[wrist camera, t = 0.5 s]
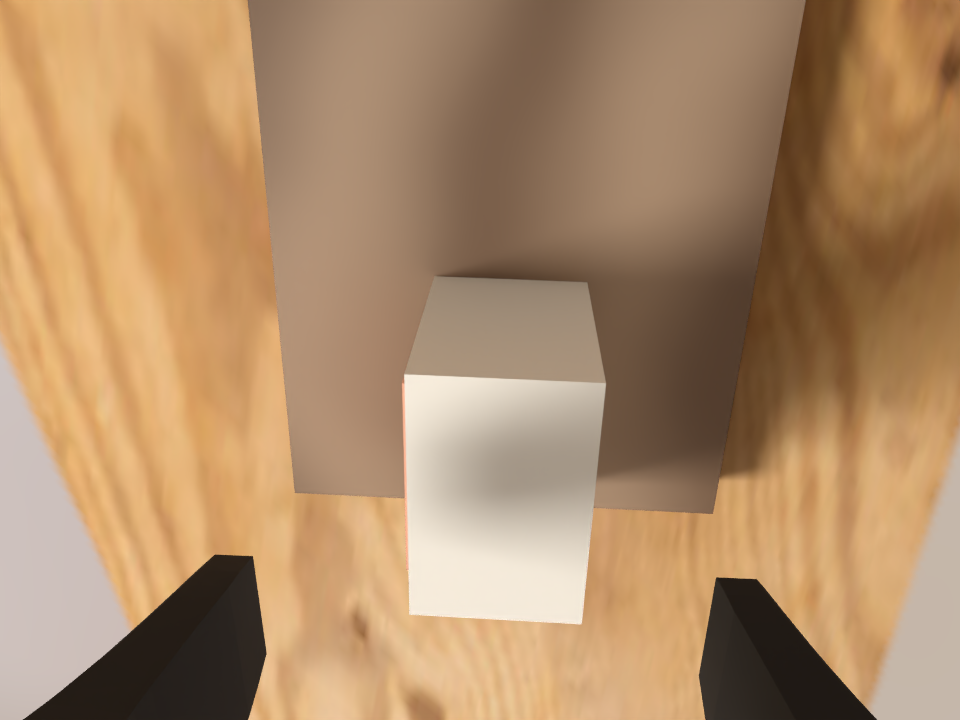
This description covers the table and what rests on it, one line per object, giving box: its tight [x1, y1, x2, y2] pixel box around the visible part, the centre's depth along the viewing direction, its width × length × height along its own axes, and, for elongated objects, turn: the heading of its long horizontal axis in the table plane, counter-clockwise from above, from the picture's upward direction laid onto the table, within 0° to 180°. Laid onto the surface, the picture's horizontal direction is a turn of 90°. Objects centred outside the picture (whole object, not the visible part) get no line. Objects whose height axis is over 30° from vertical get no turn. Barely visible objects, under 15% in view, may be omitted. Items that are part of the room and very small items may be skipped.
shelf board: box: [248, 0, 806, 514], centre depth 19 cm, size 11×14×2 cm
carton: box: [402, 276, 606, 624], centre depth 17 cm, size 6×4×5 cm, turn 179°
